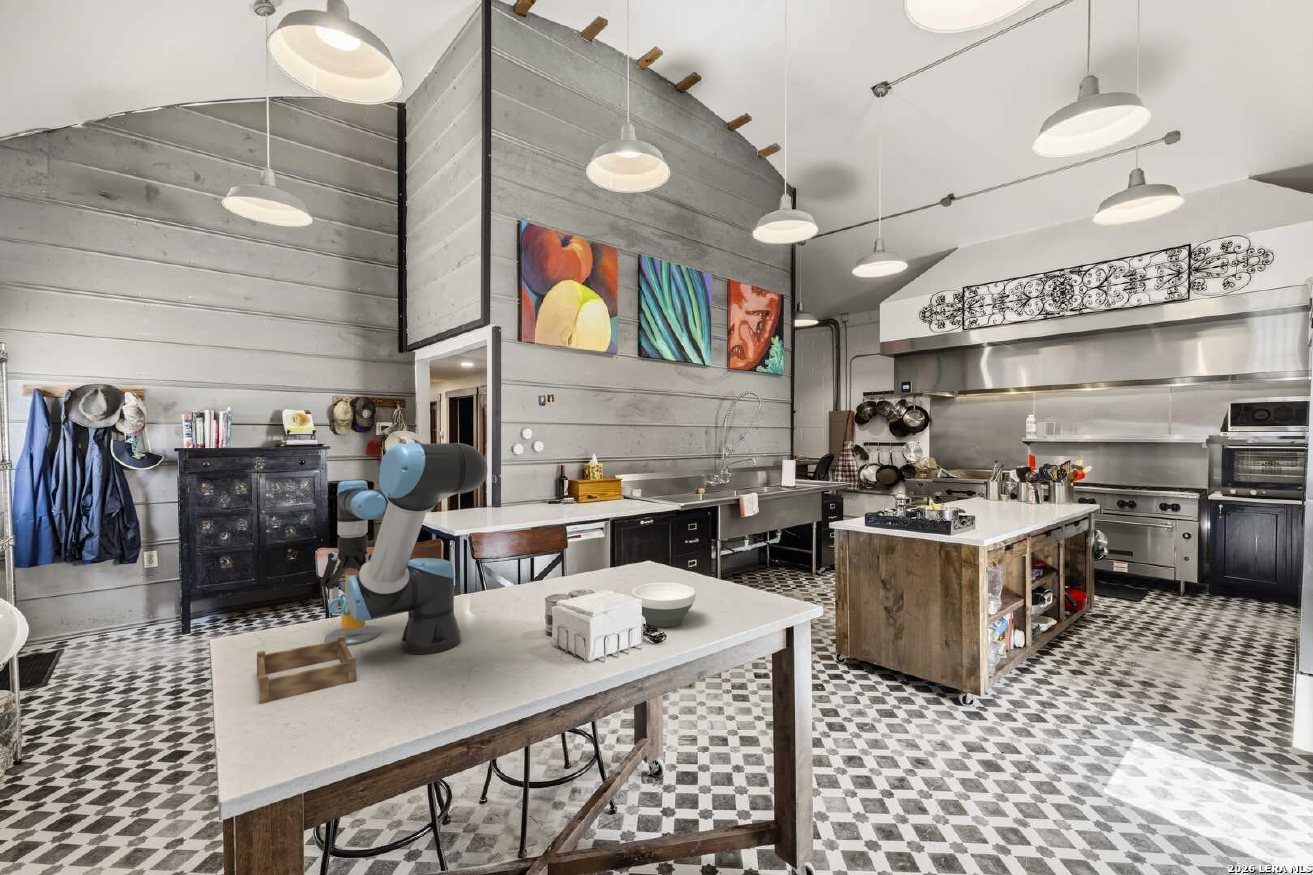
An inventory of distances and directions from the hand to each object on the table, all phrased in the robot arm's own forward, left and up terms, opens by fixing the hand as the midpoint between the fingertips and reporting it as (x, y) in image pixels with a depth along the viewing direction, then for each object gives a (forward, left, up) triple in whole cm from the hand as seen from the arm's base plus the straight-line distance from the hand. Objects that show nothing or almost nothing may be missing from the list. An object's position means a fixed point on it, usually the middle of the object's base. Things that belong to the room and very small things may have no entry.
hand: (353, 611), depth 159 cm
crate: (-7, +26, -7) cm, 28 cm away
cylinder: (0, 0, -4) cm, 4 cm away
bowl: (-86, -25, -7) cm, 90 cm away
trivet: (0, 0, -7) cm, 7 cm away
